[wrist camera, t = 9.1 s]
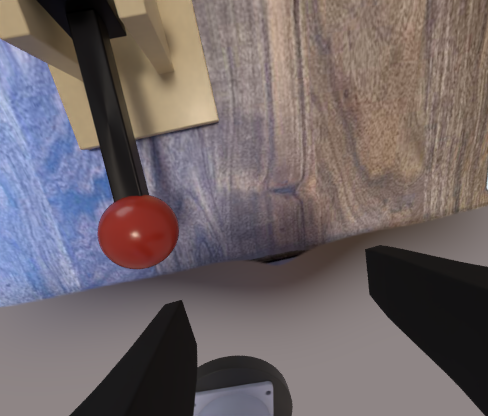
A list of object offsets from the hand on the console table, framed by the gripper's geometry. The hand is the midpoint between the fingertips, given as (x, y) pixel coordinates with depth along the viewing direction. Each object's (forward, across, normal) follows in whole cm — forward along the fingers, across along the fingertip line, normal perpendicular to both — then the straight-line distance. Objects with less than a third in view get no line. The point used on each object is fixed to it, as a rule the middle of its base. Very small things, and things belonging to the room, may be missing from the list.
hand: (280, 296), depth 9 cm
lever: (+5, +5, -8) cm, 10 cm away
